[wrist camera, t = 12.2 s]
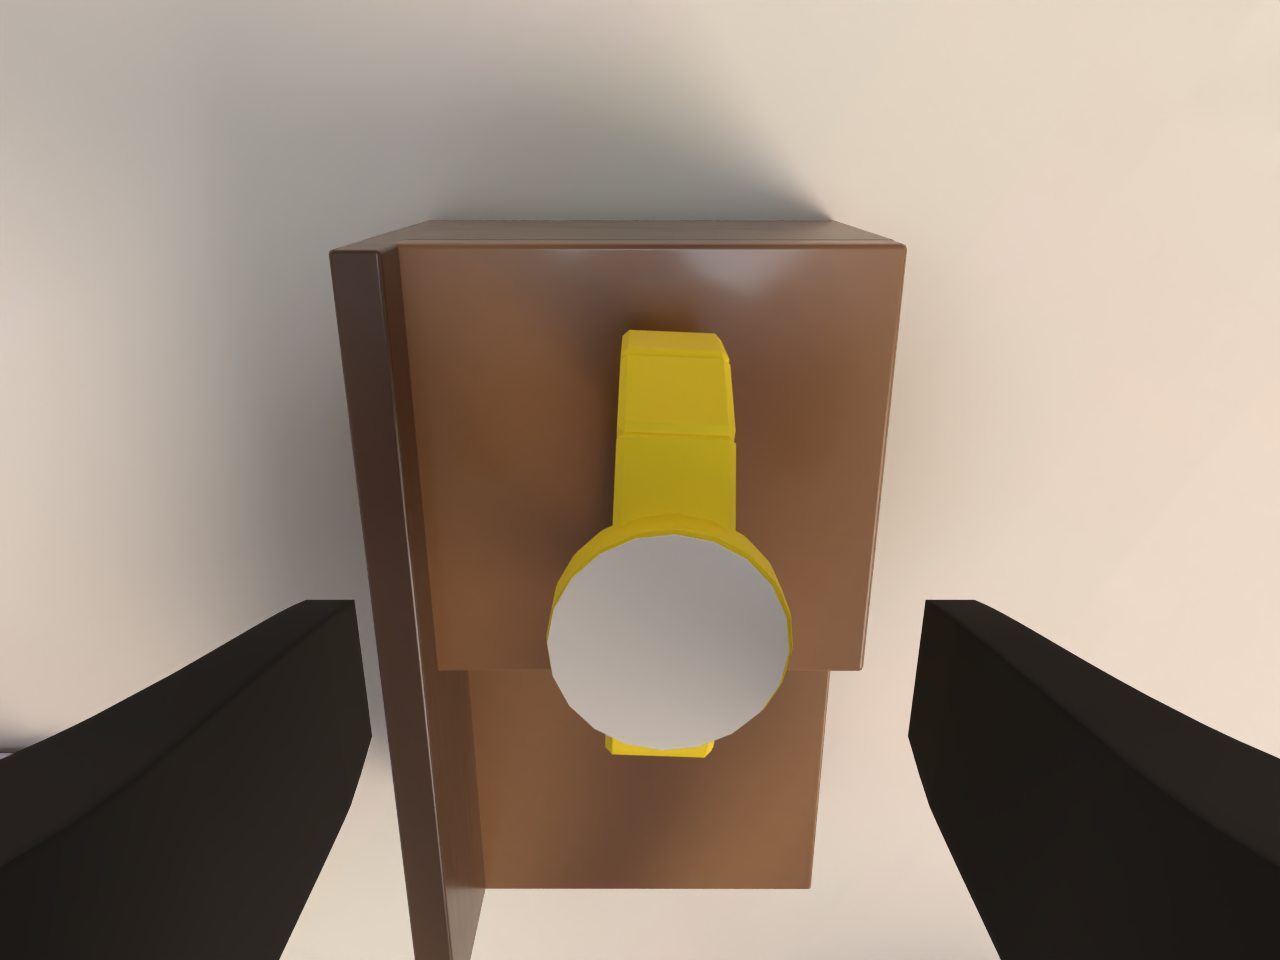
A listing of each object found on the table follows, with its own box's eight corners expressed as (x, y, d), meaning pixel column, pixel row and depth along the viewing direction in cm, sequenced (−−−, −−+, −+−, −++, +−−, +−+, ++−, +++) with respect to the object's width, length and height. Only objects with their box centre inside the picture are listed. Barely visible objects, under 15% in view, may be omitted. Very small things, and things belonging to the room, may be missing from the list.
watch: (723, 629, 16) (767, 875, 11) (576, 623, 16) (543, 868, 11) (751, 310, 14) (825, 408, 9) (582, 303, 14) (546, 397, 9)
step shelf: (475, 806, 25) (421, 1019, 18) (427, 220, 19) (326, 249, 13) (791, 806, 25) (840, 1019, 18) (836, 220, 19) (929, 250, 13)
